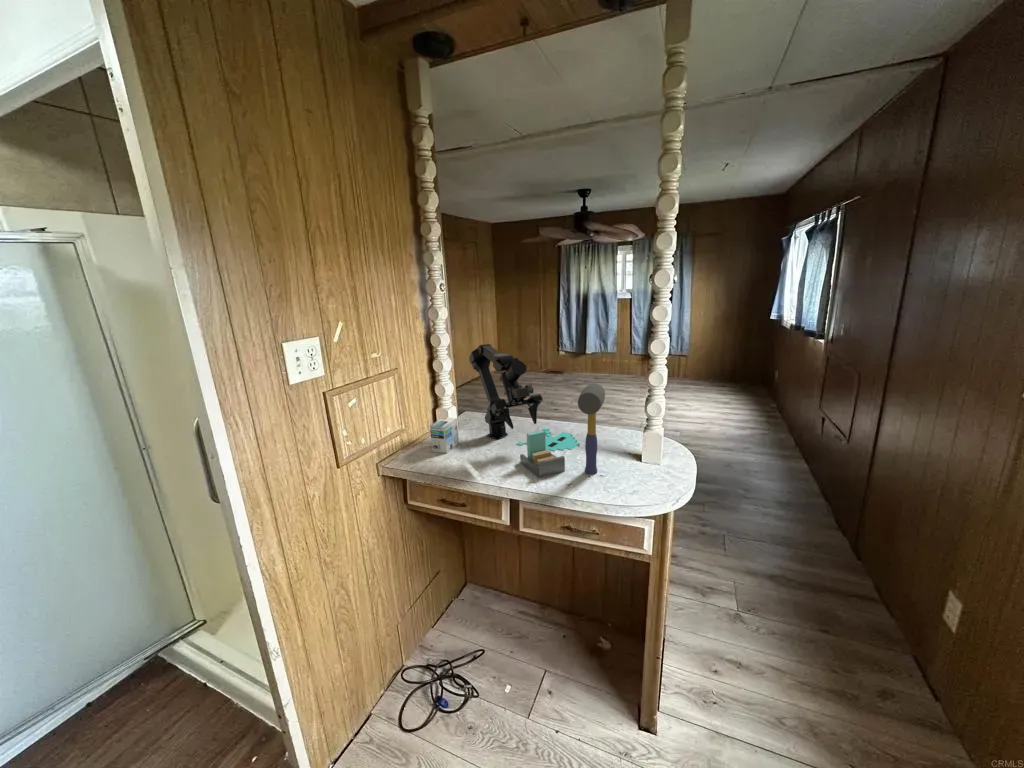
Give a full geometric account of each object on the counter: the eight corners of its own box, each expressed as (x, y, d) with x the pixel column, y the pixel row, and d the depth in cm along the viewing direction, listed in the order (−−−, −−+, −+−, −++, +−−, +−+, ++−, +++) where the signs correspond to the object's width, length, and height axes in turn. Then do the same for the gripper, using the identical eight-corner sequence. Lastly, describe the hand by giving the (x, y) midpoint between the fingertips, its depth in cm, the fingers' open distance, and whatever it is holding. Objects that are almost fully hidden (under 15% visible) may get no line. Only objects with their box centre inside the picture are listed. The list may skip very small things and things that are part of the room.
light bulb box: (447, 453, 149) (444, 427, 146) (431, 452, 151) (428, 425, 148) (459, 442, 159) (457, 417, 156) (444, 441, 161) (442, 416, 158)
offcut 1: (532, 467, 131) (532, 453, 130) (548, 463, 134) (547, 449, 133) (535, 469, 130) (535, 455, 128) (551, 465, 132) (550, 452, 131)
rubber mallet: (600, 486, 120) (601, 392, 113) (575, 483, 123) (576, 391, 115) (605, 468, 132) (606, 382, 124) (582, 466, 134) (583, 381, 127)
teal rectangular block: (527, 463, 134) (526, 433, 132) (542, 459, 137) (542, 430, 134) (530, 465, 133) (529, 435, 130) (545, 461, 135) (545, 431, 132)
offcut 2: (537, 471, 129) (536, 459, 128) (552, 466, 131) (552, 455, 130) (540, 473, 127) (539, 462, 126) (555, 469, 130) (555, 458, 129)
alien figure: (516, 449, 151) (561, 461, 140) (516, 443, 151) (561, 455, 139) (544, 432, 167) (587, 442, 155) (544, 427, 166) (587, 437, 154)
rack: (518, 465, 137) (518, 448, 135) (543, 459, 141) (543, 442, 139) (538, 482, 124) (538, 463, 123) (565, 475, 129) (565, 456, 127)
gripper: (494, 381, 134) (507, 423, 129) (542, 373, 142) (556, 413, 137) (485, 393, 143) (497, 433, 139) (530, 386, 151) (543, 424, 146)
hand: (524, 426), depth 140 cm, fingers open, 9 cm apart
